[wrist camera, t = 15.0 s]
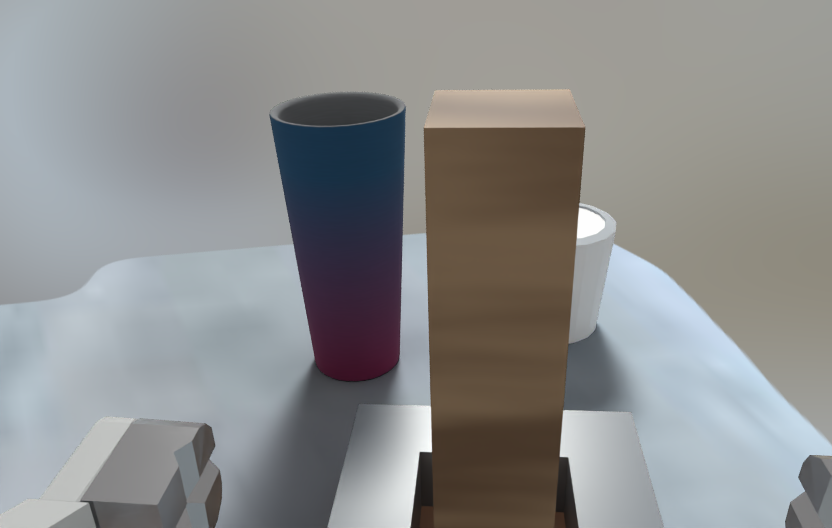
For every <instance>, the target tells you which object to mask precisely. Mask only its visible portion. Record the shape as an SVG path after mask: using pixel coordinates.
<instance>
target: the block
mask: <svg viewBox="0 0 832 528" xmlns="http://www.w3.org/2000/svg"><path fill="white" fill-rule="evenodd" d="M584 138H585V125H584V123H583V121H582V118H581V116H580V113H579V111H578V108H577V106H576V104H575V101H574V99H573V96H572V94H571V92H570V89H558V90H557V89H555V90H554V89H552V90H435V92H434V95H433V99H432V102H431V105H430V109H429V112H428V115H427V119H426V122H425V125H424V153H425V155H424V156H425V196H426V236H427V275H428V315H429V354H430V394H431V434H432V473H433V513H434V528H554V522H555V509H556V497H557V484H558V471H559V458H560V445H561V433H562V420H563V407H564V394H565V381H566V369H567V356H568V343H569V330H570V317H571V305H572V292H573V279H574V266H575V254H576V241H577V228H578V215H579V202H580V190H581V176H582V164H583V151H584Z"/></svg>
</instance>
